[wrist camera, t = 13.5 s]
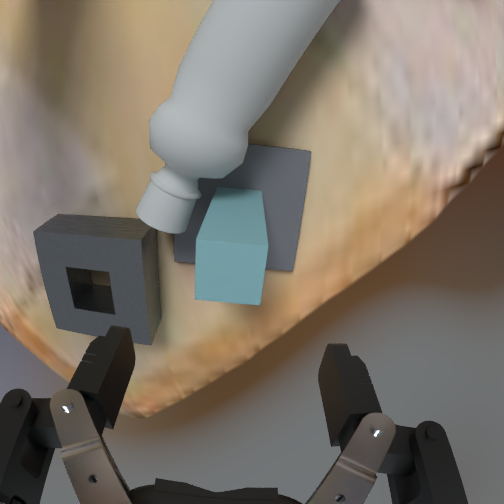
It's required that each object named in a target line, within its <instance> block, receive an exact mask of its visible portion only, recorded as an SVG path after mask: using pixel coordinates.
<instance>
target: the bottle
mask: <svg viewBox="0 0 504 504" xmlns="http://www.w3.org/2000/svg"><path fill="white" fill-rule="evenodd" d="M340 1H341V0H213V2H212V4H211V5H210V7H209V9H208V11H207V12H206V14H205V16H204V18H203V20H202V22H201V23H200V25H199V27H198V29H197V31H196V33H195V35H194V37H193V39H192V41H191V43H190V45H189V47H188V49H187V51H186V53H185V55H184V57H183V59H182V61H181V63H180V65H179V68H178V72H177V75H176V79H175V83H174V86H173V90H172V94H171V97H170V98H169V99H167V100H166V101H165V102H163V103H162V104H161V105H160V106H159V107H158V108H157V110H156V111H155V112H154V114H153V115H152V117H151V118H150V120H149V132H150V148H151V149H152V150H153V151H154V152H155V153H156V154H157V155H158V156H159V157H160V158H161V159H162V160H163V161H164V162H165V166H164V167H163V168H162V169H161V170H160V171H159V172H153V173H151V174H150V179H151V181H150V183H149V185H148V187H147V189H146V191H145V193H144V194H143V196H142V198H141V200H140V202H139V204H138V206H137V208H136V212H137V215H138V216H139V218H140V219H141V220H142V221H144V222H145V223H146V224H148V225H149V226H151V227H153V228H155V229H157V230H160V231H163V232H167V233H176V234H179V233H182V232H185V230H186V228H187V226H188V223H189V220H190V217H191V214H192V211H193V208H194V205H195V202H196V199H198V198H200V197H201V196H202V195H201V192H200V191H199V190H198V179H199V178H200V177H201V178H214V179H217V178H224V177H225V176H226V175H228V174H229V173H230V172H232V171H233V170H234V169H235V168H237V167H238V166H239V165H241V164H242V163H243V160H244V157H245V154H246V150H247V147H248V131H249V130H250V129H251V127H252V126H253V125H254V124H255V123H256V121H257V120H258V119H259V118H260V117H261V115H262V114H263V113H264V112H265V111H266V110H267V108H268V107H269V106H270V105H271V103H272V101H273V100H274V98H275V97H276V95H277V93H278V92H279V90H280V89H281V87H282V85H283V84H284V82H285V81H286V79H287V78H288V76H289V75H290V73H291V71H292V70H293V68H294V67H295V65H296V64H297V62H298V61H299V59H300V58H301V56H302V55H303V53H304V52H305V50H306V49H307V47H308V46H309V44H310V43H311V41H312V40H313V38H314V37H315V35H316V34H317V32H318V31H319V30H320V28H321V27H322V25H323V24H324V22H325V21H326V19H327V18H328V17H329V15H330V14H331V12H332V11H333V10H334V8H335V7H336V5H337V4H338V3H339V2H340Z"/></svg>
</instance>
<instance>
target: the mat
mask: <svg viewBox="0 0 504 504" xmlns="http://www.w3.org/2000/svg"><path fill="white" fill-rule="evenodd" d="M310 158H311V151H307V150H300V149H292V148H283V147H274V146H265V145H254V144H248V147H247V150H246V154H245V157H244V160H243V163H242V164H241V165H239V166H238V167H237V168H235V169H234V170H233V171H232V172H230V173H229V174H228V175H226V176H225V177H224V178H217V179H214V178H201V177H200V178H199V179H198V190H199V191H200V192H201V195H202V196H201V197H200V198H198V199H196V202H195V205H194V208H193V211H192V214H191V217H190V220H189V223H188V226H187V228H186V230H185V232H182V233H179V234H176V233H174V261H177V262H188V263H195V260H196V238H197V236H198V233H199V231H200V228H201V226H202V223H203V221H204V218H205V216H206V213H207V211H208V208H209V206H210V203H211V201H212V198H213V196H214V194H215V191H216V189H217V187H227V188H238V189H249V190H259V191H262V199H263V206H264V214H265V222H266V230H267V238H268V252H267V260H266V267H265V269H273V270H285V271H293V267H294V261H295V255H296V250H297V244H298V237H299V231H300V225H301V219H302V212H303V206H304V199H305V193H306V186H307V179H308V172H309V165H310Z"/></svg>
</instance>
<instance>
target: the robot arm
mask: <svg viewBox="0 0 504 504" xmlns="http://www.w3.org/2000/svg"><path fill="white" fill-rule="evenodd" d="M134 366H135V351H134V346H133V341H132V336H131V331H130V328H127V327H121V326H114V325H112V326H111V327H110V328H109V330H108V332H107V334H106V336H98V337H97V338H96V339H95V340H93V341H92V342H91V343H90V345H89V347H88V349H87V350H86V354H84V356H83V358H82V361H81V362H80V364H79V366H78V368H77V370H76V371H75V373H74V375H73V377H72V379H71V381H70V383H69V385H68V387H67V389H64V390H60V391H58V392H57V393H56V394H54V395H53V397H52V398H43V399H42V398H31V396H30V394H29V393H28V392H27V391H25V390H23V389H14V390H11V391H9V392H8V393H7V394H6V395H5V396H4V397H3V399H2V401H1V403H0V504H40V499H41V496H42V492H43V488H44V484H45V481H46V477H47V474H48V470H49V466H50V463H51V460H52V457H53V453H54V450H55V448H62V449H63V451H62V452H61V456H62V459H63V462H64V465H65V468H66V470H67V473H68V475H69V478H70V480H71V483H72V485H73V488H74V490H75V493H76V495H77V497H78V499H79V502H80V504H302V503H300V502H298V501H297V500H294V499H292V498H290V497H287V496H284V495H279V494H278V490H277V489H278V488H243V489H237V490H231V491H224V492H212V491H209V490H205V489H202V488H199V487H196V486H193V485H190V484H188V483H183V482H177V481H169V480H164V479H158V478H156V481H155V485H146V486H141V487H137V488H135V489H132V490H130V489H129V487H128V485H127V483H126V481H125V480H124V478H123V476H122V475H121V473H120V471H119V469H118V467H117V465H116V463H115V461H114V459H113V457H112V456H111V453H110V451H109V449H108V447H107V445H106V443H105V441H104V438H103V437H102V433H103V430H104V427H105V428H110V429H113V428H114V425H115V422H116V419H117V416H118V413H119V410H120V407H121V404H122V401H123V398H124V395H125V392H126V389H127V386H128V384H129V381H130V378H131V375H132V372H133V369H134ZM318 381H319V387H320V391H321V396H322V402H323V407H324V412H325V417H326V422H327V427H328V432H329V437H330V443H331V447H332V446H340V448H341V453H340V455H339V456H338V458H337V460H336V461H335V463H334V464H333V465H332V467H331V468H330V470H329V471H328V473H327V474H326V476H325V477H324V479H323V480H322V482H321V483H320V484H319V486H318V487H317V488H316V490H315V491H314V492H313V494H312V495H311V497H310V498H309V499H308V500H307V502H306V503H305V504H364V502H365V500H366V498H367V497H368V494H369V493H370V491H371V489H372V487H373V486H374V484H375V482H376V479H377V476H376V474H377V472H378V473H386V474H387V476H388V482H389V487H390V492H391V498H392V504H468V501H467V498H466V494H465V491H464V487H463V484H462V480H461V477H460V474H459V471H458V467H457V465H456V461H455V458H454V455H453V452H452V449H451V446H450V444H449V441H448V438H447V435H446V432H445V430H444V429H443V427H442V426H441V425H440V424H438V423H436V422H433V421H424V422H422V423H420V424H419V425H418V426H417V428H412V427H405V426H399V425H396V424H394V422H393V420H392V419H391V418H390V417H388V416H387V415H385V414H383V413H382V410H381V407H380V405H379V402H378V399H377V396H376V393H375V390H374V387H373V384H371V383H372V382H371V379H370V376H369V373H368V370H367V368H366V365H365V364H364V362H363V361H362V360H361V359H360V358H359V357H358V356H351V354H350V351H349V348H348V346H347V344H328V345H327V347H326V350H325V353H324V356H323V359H322V362H321V365H320V368H319V374H318Z"/></svg>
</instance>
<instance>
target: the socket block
mask: <svg viewBox="0 0 504 504" xmlns="http://www.w3.org/2000/svg"><path fill="white" fill-rule="evenodd" d="M33 233H34V238H35V244H36V249H37V254H38V259H39V264H40V268H41V273H42V277H43V281H44V285H45V289H46V293H47V297H48V300H49V304H50V308H51V311H52V314H53V318H54V321H55V324H56V327H57V328H58V329H63V330H67V331H72V332H77V333H82V334H87V335H92V336H97V337H98V336H106V334H107V332H108V330H109V328H110V327H111V326H112V325H114V326H121V327H127V328H130V331H131V336H132V341H133V343H139V344H146V345H151V344H152V342H153V339H154V336H155V333H156V331H157V328H158V325H159V323H160V320H161V304H160V291H159V274H158V254H157V229H155V228H153V227H151V226H149V225H148V224H146V223H145V222H144V221H142V220H141V219H135V218H119V217H102V216H83V215H64V214H57V215H56V216H54V217H53V218H52V219H50V220H49V221H47V222H46V223H44V224H43V225H42V226H40V227H39V228H37V229H36V230H35V231H33ZM90 270H97V271H105V272H109V276H110V283H111V286H103V285H96V284H92V278H91V272H90Z"/></svg>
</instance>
